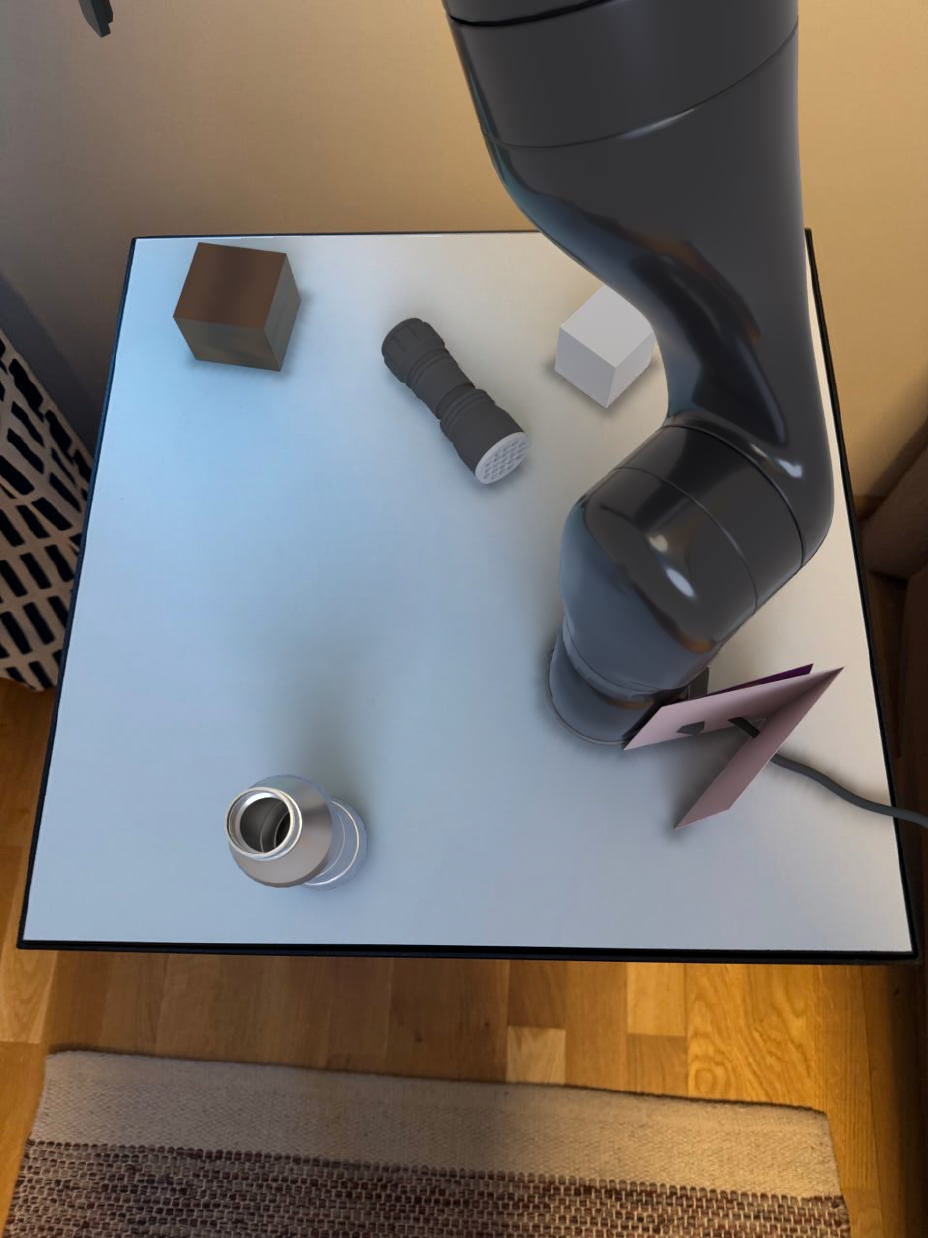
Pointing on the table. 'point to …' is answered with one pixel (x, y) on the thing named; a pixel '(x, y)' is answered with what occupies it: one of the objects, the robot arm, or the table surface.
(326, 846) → the silver metal bottle
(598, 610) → the robot arm
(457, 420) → the flashlight
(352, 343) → the table surface
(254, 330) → the block
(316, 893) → the table surface
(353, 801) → the table surface
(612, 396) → the white cube
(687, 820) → the greeting card
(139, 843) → the table surface
